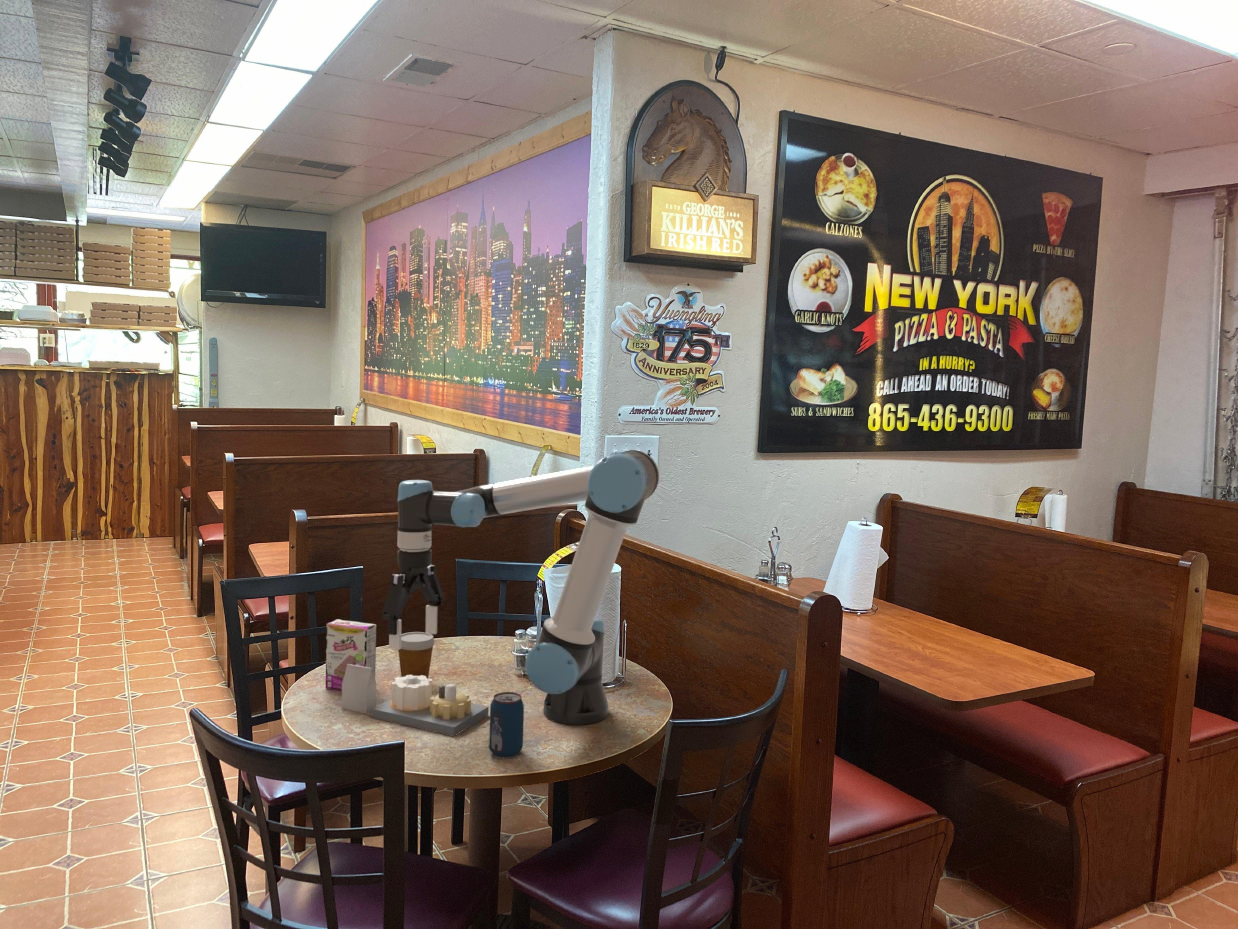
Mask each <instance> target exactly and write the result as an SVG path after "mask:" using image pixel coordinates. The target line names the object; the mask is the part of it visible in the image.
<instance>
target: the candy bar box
mask: <svg viewBox="0 0 1238 929" xmlns="http://www.w3.org/2000/svg"><path fill="white" fill-rule="evenodd" d="M325 631H326V632H325V633H326V636H325V640H326V642H325V653H326V654H325V689H327V690H328V689H329V690H335V691H340V692H342V682H343V678H344V675H345V671H346V667H347V664H351V665H357V666H363V667H369V668H373V674H374V677H375V678H376V660H377V659H376V655H377V653H376V652H377V624H375V623H369V622H362V621H361V622H360V621H353V620H346V619H345V620H344V619H339V618H338V619H334V620H332V621H331V622H327V623H326V630H325Z"/></svg>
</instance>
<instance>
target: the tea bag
mask: <svg viewBox="0 0 1238 929" xmlns="http://www.w3.org/2000/svg"><path fill="white" fill-rule="evenodd" d="M376 706H377V681H376V676H375V677H374V674H373V668H369V667H363V666H357V665H351V664H347V667H346V671H345V675H344V678H343V682H342V691H341V709H342V710H347V711H351V710H352V711H353V712H357V713H362V714H368V713H369V712H372V708H374V707H376Z"/></svg>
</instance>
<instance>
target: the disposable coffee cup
mask: <svg viewBox="0 0 1238 929" xmlns="http://www.w3.org/2000/svg"><path fill="white" fill-rule="evenodd" d="M435 643H436V640H435V638H434V634H430V633H426V631H424V632H422V631H411V632H409V631H408V632H405V633H401V649H397V651H398V657H399V658H398V660H399V668H400V678H401V677H405V676H406V675H412V676H421V675H423V676H426V678H427V679H429V675H430V668H431V662H432V654H433V648H434V645H435Z"/></svg>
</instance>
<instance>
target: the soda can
mask: <svg viewBox="0 0 1238 929" xmlns="http://www.w3.org/2000/svg"><path fill="white" fill-rule="evenodd" d="M489 709H490V710H489V737H488V740H489V741H488V749H489V751H490V752H491V755H492V756H493V757H495V758H498V759H503V758H504V759H507V758H508V759H513V758H515V757H517V756H519V755H520V753H521V751H522V750H523V746H524V744H523V743H524V720H525V719H524V716H525V715H524V714H525V702H523V699H522V695H521V694H519V693H517V692H513V691H504V692H499V693H498V692H497V693H495V694H494V695H493V699H492V701H491V703H490V706H489ZM508 759H507V760H508Z"/></svg>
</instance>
